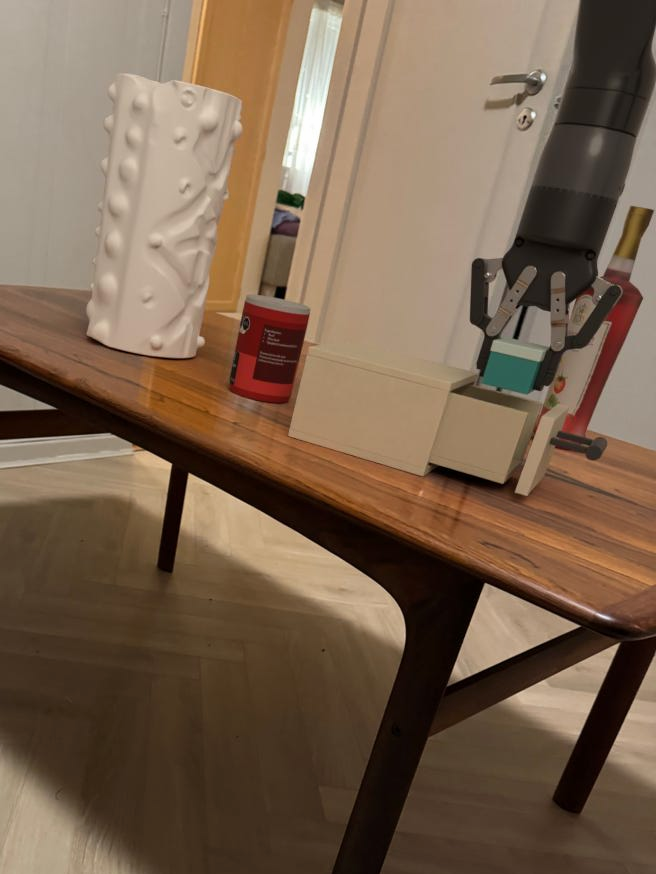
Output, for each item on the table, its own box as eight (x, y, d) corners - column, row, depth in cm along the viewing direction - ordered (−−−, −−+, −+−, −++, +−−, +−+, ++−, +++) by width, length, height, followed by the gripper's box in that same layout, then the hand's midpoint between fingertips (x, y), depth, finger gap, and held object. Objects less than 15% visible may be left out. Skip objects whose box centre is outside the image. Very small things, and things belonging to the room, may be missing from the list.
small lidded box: (538, 389, 90) (552, 347, 88) (528, 395, 84) (543, 351, 83) (492, 377, 91) (505, 337, 90) (479, 383, 86) (493, 339, 84)
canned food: (247, 384, 116) (265, 294, 111) (301, 401, 112) (323, 309, 107) (215, 388, 110) (233, 293, 105) (271, 406, 106) (292, 308, 101)
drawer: (590, 489, 93) (618, 418, 89) (578, 511, 83) (608, 433, 80) (420, 440, 99) (440, 373, 96) (390, 456, 90) (412, 382, 87)
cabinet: (452, 457, 99) (479, 373, 95) (422, 476, 88) (451, 383, 84) (328, 421, 104) (349, 340, 100) (287, 436, 94) (308, 346, 90)
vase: (148, 362, 117) (193, 78, 103) (58, 333, 125) (88, 65, 111) (221, 359, 130) (270, 106, 116) (135, 333, 138) (172, 92, 124)
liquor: (514, 434, 118) (596, 199, 106) (553, 437, 121) (637, 210, 109) (556, 451, 112) (647, 205, 100) (596, 454, 116) (689, 216, 103)
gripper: (487, 172, 80) (430, 368, 87) (658, 199, 75) (582, 406, 82) (502, 180, 86) (448, 363, 93) (662, 207, 81) (590, 398, 88)
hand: (511, 382), depth 88 cm, fingers closed on small lidded box, 4 cm apart
